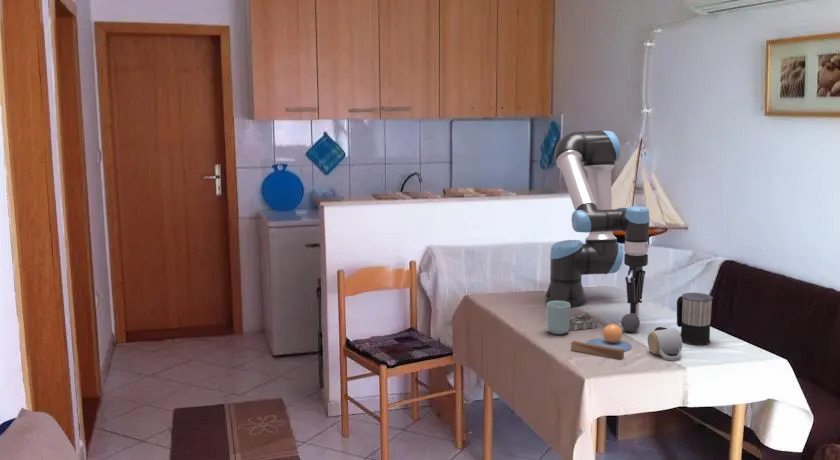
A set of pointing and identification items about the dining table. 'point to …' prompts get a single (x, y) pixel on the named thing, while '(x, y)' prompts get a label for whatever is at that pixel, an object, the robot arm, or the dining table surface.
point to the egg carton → (582, 322)
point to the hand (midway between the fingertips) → (634, 321)
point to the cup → (558, 316)
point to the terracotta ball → (612, 333)
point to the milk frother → (694, 318)
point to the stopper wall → (597, 350)
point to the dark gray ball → (630, 322)
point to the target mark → (611, 344)
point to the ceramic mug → (665, 343)
